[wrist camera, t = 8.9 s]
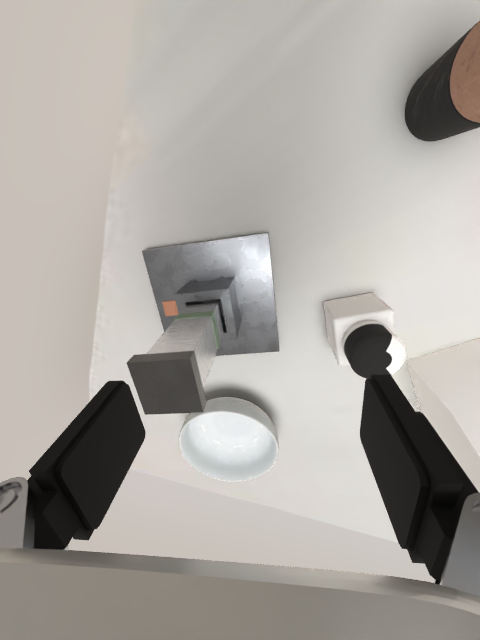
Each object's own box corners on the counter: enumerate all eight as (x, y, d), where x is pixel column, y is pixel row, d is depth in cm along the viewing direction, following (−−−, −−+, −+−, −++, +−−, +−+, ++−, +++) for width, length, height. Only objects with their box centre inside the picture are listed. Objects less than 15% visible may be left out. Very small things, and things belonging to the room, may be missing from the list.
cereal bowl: (188, 442, 54) (176, 474, 48) (191, 376, 47) (179, 402, 41) (269, 456, 53) (269, 491, 47) (285, 391, 47) (287, 421, 40)
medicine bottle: (328, 342, 42) (348, 390, 31) (322, 300, 39) (343, 337, 28) (375, 334, 41) (414, 382, 30) (373, 291, 38) (415, 326, 27)
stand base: (146, 249, 39) (122, 257, 33) (268, 232, 36) (267, 237, 30) (174, 354, 46) (159, 378, 39) (278, 346, 43) (280, 371, 37)
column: (181, 302, 34) (126, 362, 21) (221, 298, 33) (190, 358, 20) (190, 338, 36) (145, 414, 23) (228, 335, 35) (203, 412, 22)
